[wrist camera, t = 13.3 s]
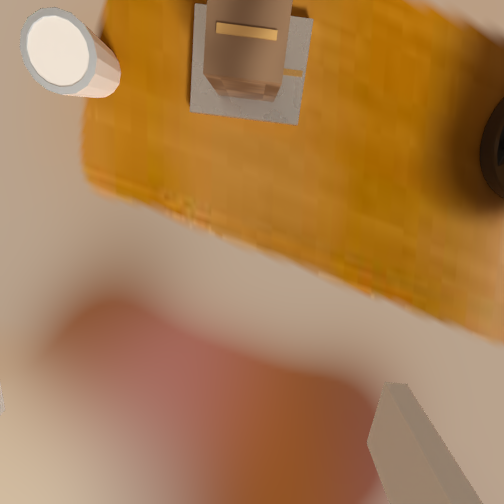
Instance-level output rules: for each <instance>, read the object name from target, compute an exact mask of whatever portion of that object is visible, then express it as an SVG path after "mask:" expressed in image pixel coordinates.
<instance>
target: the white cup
mask: <svg viewBox="0 0 504 504" xmlns="http://www.w3.org/2000/svg"><path fill="white" fill-rule="evenodd" d="M20 50H21V54H22V57H23V61H24V65H25V66H26V68H27V69H28V71H29V72H30V74H31V75H32V77H33V78H34V80H36V81H37V82H38V83H39V84H41V85H42V86H43V87H44V88H46V89H47V90H49V91H52V92H55V93H58V94H61V95H71V96H81V97H92V98H101V97H107V96H108V95H110V94H112V93H113V92H114V91H115V90H116V88H117V86H118V85H119V82H120V76H121V71H120V66H119V62H118V60H117V58H116V56H115V55H114V53H113V51H112V50H111V49H110V48H108V47H107V46H106V45H105V44H104V43H103V42H102V41H101V40H100V39H99V38H98V37H97V36H96V35H95V34H94V33H93V32H91V30H90V29H89V28H88V27H86V26H85V25H84V24H83V23H82V22H81V21H80V20H78V19H77V18H76V17H75V16H74V15H73V14H72V13H70V12H68V11H65V10H62V9H59V8H56V7H52V8H42V9H39V10H38V11H36V12H35V13H33V14H32V15H30V16H29V17H28V18H27V20H26V22H25V24H24V26H23V28H22V30H21V38H20Z"/></svg>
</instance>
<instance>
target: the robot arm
mask: <svg viewBox="0 0 504 504" xmlns="http://www.w3.org/2000/svg"><path fill="white" fill-rule="evenodd" d="M480 163H481V168H482V172H483V175H484V177H485V180H486V181H487V183H488V185H489V186H490V187H491V188H492V190H493V191H494V192H495V193H497V194H498V195H499V196H501V197H502V198H504V98H503V100H502V101H501V102H500V103H499V104H498V106H497V107H496V109H495V110H494V112H493V113H492V115H491V117H490V119H489V121H488V123H487V125H486V128H485V130H484V133H483V137H482V141H481V147H480ZM4 411H5V406H4V400H3V395H2V390H1V384H0V415H1V414H2V413H3V412H4ZM367 445H368V447H369V450H370V453H371V455H372V458H373V461H374V463H375V466H376V469H377V471H378V474H379V477H380V479H381V482H382V485H383V487H384V490H385V492H386V495H387V498H388V501H389V503H390V504H483V503H482V501H481V500H480V498H479V497H478V495H477V494H476V492H475V491H474V489H473V487H472V486H471V484H470V483H469V481H468V480H467V478H466V476H465V475H464V473H463V472H462V470H461V468H460V467H459V465H458V464H457V462H456V461H455V459H454V457H453V456H452V454H451V453H450V451H449V450H448V448H447V447H446V445H445V443H444V442H443V440H442V439H441V437H440V435H439V434H438V432H437V431H436V429H435V428H434V426H433V425H432V423H431V421H430V420H429V418H428V417H427V415H426V413H425V412H424V410H423V409H422V407H421V406H420V404H419V403H418V401H417V399H416V398H415V396H414V395H413V393H412V391H411V390H410V388H409V387H408V385H407V384H399V383H388V382H385V384H384V387H383V390H382V393H381V397H380V400H379V403H378V407H377V410H376V413H375V417H374V420H373V423H372V427H371V430H370V433H369V437H368V440H367Z"/></svg>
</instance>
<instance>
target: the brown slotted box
mask: <svg viewBox="0 0 504 504" xmlns="http://www.w3.org/2000/svg"><path fill="white" fill-rule="evenodd" d="M292 2H293V0H207V11H206V29H205V47H204V65H203V74H204V75H205V77H206V78H207V80H208V81H209V83H210V84H211V85H212V87H213V88H214V90H215V91H216V92H217V94H218V95H219V96H227V97H235V98H243V99H251V100H259V101H267V102H274V100H275V98H276V96H277V93H278V91H279V89H280V87H281V84H282V79H283V71H284V63H285V56H286V48H287V40H288V32H289V25H290V17H291V9H292Z"/></svg>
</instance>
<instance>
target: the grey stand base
mask: <svg viewBox="0 0 504 504" xmlns="http://www.w3.org/2000/svg"><path fill="white" fill-rule="evenodd" d="M206 11H207V5H205V4H197V3H195V12H194V34H193V55H192V77H191V99H190V112H192V113H197V114H206V115H214V116H222V117H230V118H238V119H246V120H254V121H263V122H271V123H279V124H287V125H295V126H296V125H298V119H299V112H300V105H301V99H302V92H303V85H304V79H305V72H306V65H307V58H308V52H309V45H310V38H311V32H312V25H313V19H310V18H302V17H295V16H291V17H290V25H289V32H288V40H287V48H286V56H285V63H284V71H283V79H282V84H281V87H280V89H279V91H278V93H277V96H276V98H275V100H274V102H267V101H259V100H251V99H243V98H235V97H227V96H219V95H218V94H217V92H216V91H215V90H214V88H213V87H212V85H211V84H210V83H209V81H208V80H207V78H206V77H205V75H204V74H203V65H204V47H205V29H206Z"/></svg>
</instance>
